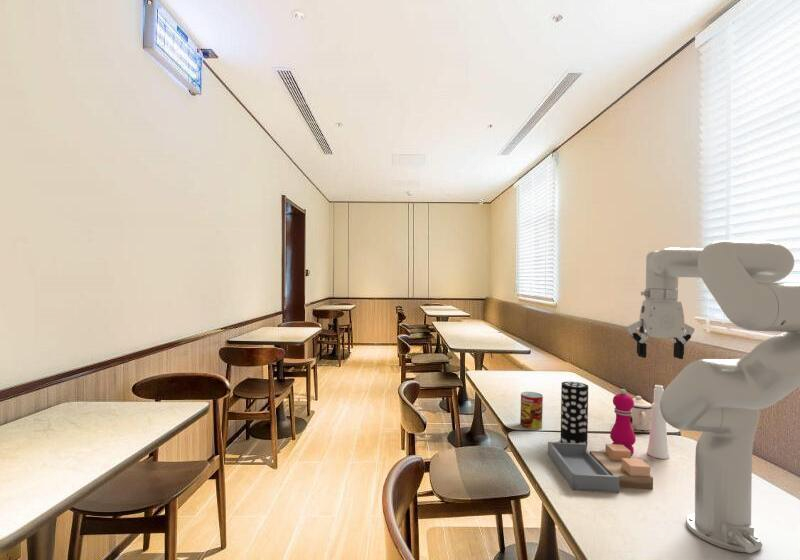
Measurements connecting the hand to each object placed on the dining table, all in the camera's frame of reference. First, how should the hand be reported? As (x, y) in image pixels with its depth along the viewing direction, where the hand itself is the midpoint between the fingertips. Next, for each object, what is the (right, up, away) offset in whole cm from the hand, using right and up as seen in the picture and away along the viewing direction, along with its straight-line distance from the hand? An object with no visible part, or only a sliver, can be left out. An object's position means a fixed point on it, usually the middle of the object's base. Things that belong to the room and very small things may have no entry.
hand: (660, 357), depth 111 cm
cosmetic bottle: (+10, -35, +17) cm, 40 cm away
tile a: (-8, -31, -2) cm, 32 cm away
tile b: (-7, -31, +8) cm, 33 cm away
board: (-10, -34, +3) cm, 35 cm away
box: (-20, -33, +4) cm, 39 cm away
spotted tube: (-13, -34, +24) cm, 44 cm away
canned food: (-22, -34, +41) cm, 58 cm away
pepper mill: (0, -34, +19) cm, 39 cm away
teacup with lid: (+19, -35, +41) cm, 57 cm away
